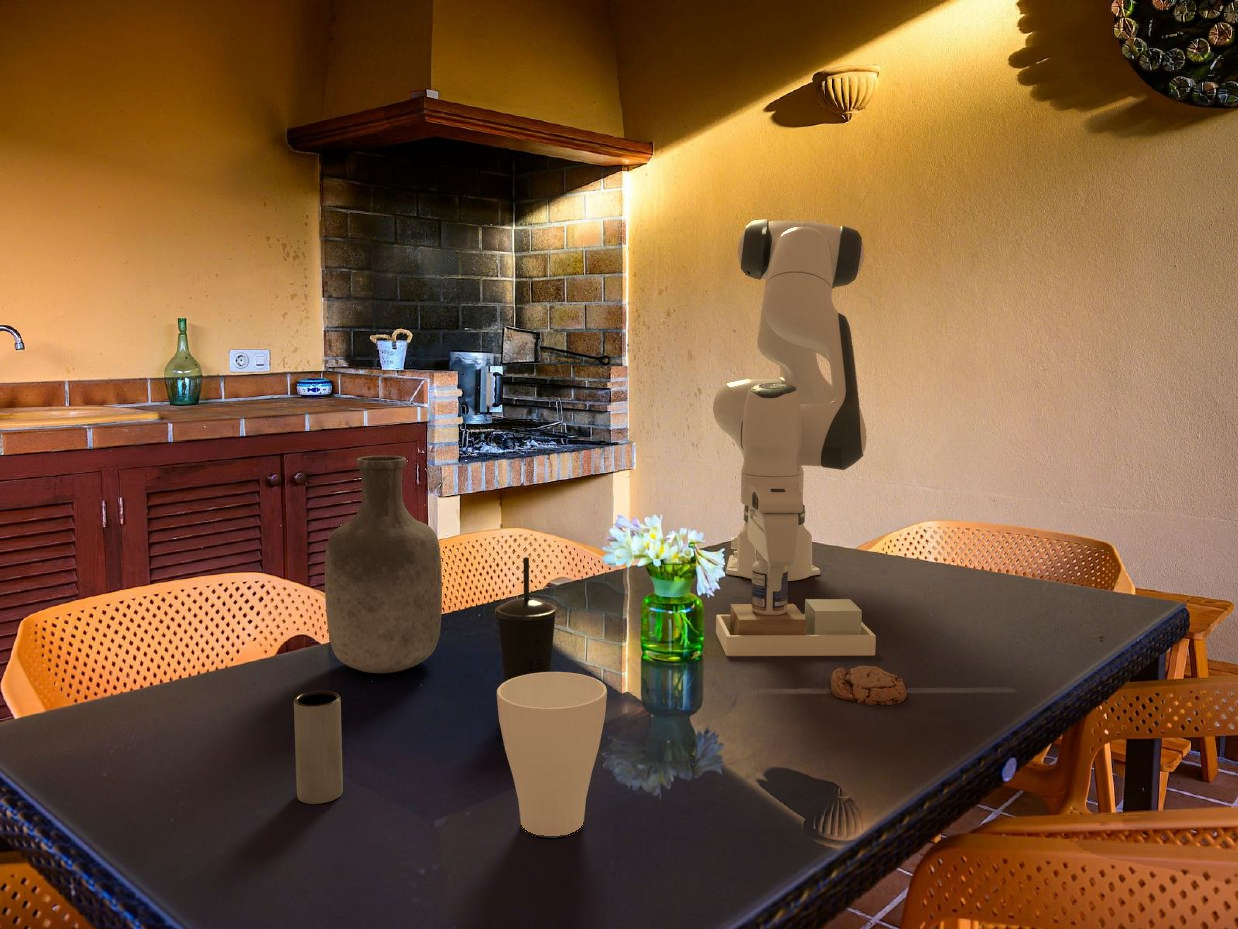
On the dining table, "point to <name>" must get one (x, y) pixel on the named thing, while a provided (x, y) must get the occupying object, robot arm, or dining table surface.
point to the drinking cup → (526, 633)
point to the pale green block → (832, 617)
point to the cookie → (868, 686)
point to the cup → (552, 745)
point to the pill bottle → (767, 590)
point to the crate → (794, 643)
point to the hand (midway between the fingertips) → (768, 582)
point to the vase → (383, 578)
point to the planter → (318, 746)
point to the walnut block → (766, 621)
